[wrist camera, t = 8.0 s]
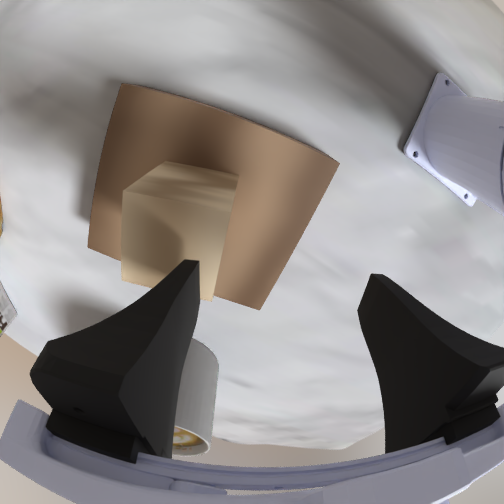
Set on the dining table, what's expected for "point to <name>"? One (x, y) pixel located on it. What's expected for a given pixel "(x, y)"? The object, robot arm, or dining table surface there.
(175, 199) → the beech block
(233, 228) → the walnut base
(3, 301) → the coffee box
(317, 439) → the dining table surface
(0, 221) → the pastry
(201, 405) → the coffee mug
